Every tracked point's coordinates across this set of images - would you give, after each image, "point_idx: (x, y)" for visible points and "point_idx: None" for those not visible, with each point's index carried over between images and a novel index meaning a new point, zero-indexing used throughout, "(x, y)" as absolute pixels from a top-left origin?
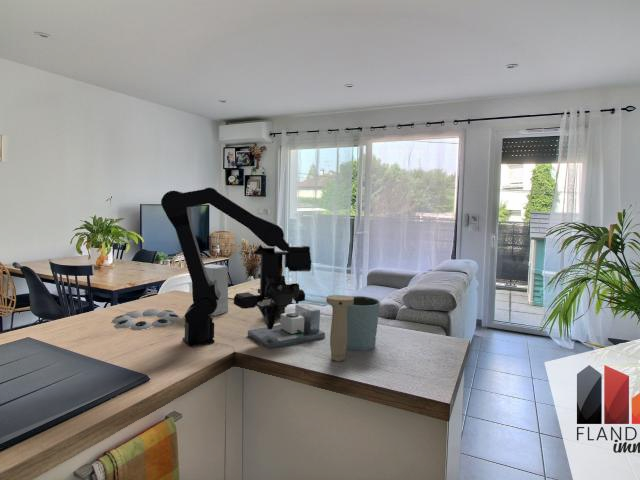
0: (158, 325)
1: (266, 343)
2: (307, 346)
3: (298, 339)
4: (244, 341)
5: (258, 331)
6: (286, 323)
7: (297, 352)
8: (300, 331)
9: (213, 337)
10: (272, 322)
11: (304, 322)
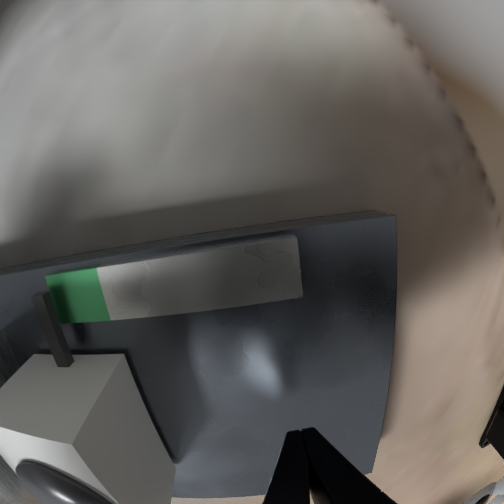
0: (492, 487)
1: (390, 253)
2: (75, 163)
3: (96, 256)
4: (421, 387)
5: None
6: (135, 461)
7: (193, 68)
8: (48, 324)
9: (501, 409)
10: (302, 472)
11: None
